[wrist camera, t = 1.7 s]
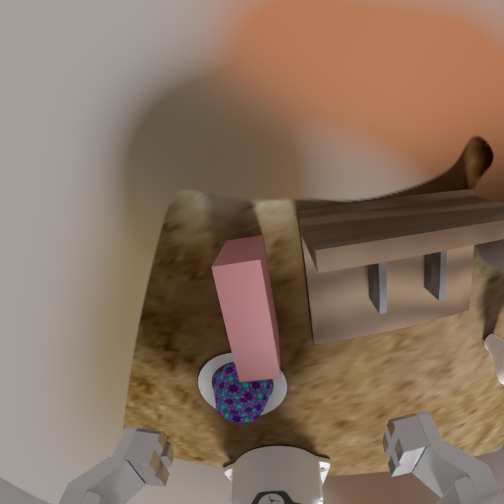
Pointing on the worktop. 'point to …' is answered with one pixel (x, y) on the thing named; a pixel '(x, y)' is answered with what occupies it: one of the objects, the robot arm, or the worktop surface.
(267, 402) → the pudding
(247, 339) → the book
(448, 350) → the worktop surface
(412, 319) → the shelf stand
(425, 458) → the robot arm
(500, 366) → the lightbulb
